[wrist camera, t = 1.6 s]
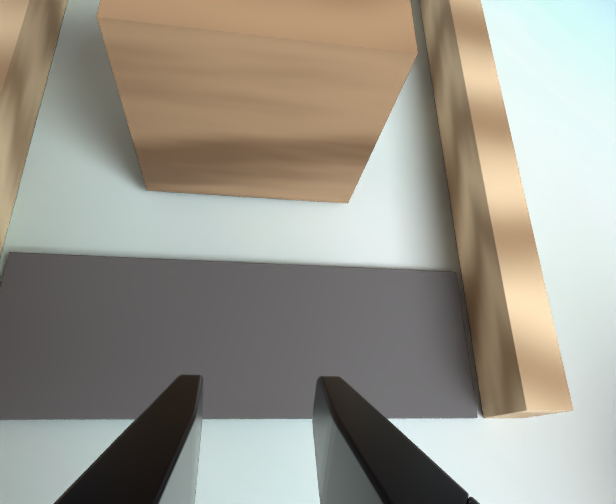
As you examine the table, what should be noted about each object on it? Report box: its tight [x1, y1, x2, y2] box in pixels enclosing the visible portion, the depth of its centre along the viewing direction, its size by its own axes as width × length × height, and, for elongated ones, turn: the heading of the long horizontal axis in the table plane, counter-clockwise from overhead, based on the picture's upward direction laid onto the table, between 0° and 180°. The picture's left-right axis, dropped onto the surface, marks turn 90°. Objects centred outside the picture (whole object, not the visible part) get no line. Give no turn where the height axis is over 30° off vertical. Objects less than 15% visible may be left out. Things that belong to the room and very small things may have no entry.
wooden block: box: [97, 0, 418, 203], centre depth 21 cm, size 5×10×10 cm, turn 91°
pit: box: [0, 252, 478, 420], centre depth 22 cm, size 7×21×1 cm, turn 91°
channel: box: [0, 0, 573, 418], centre depth 24 cm, size 28×26×4 cm
